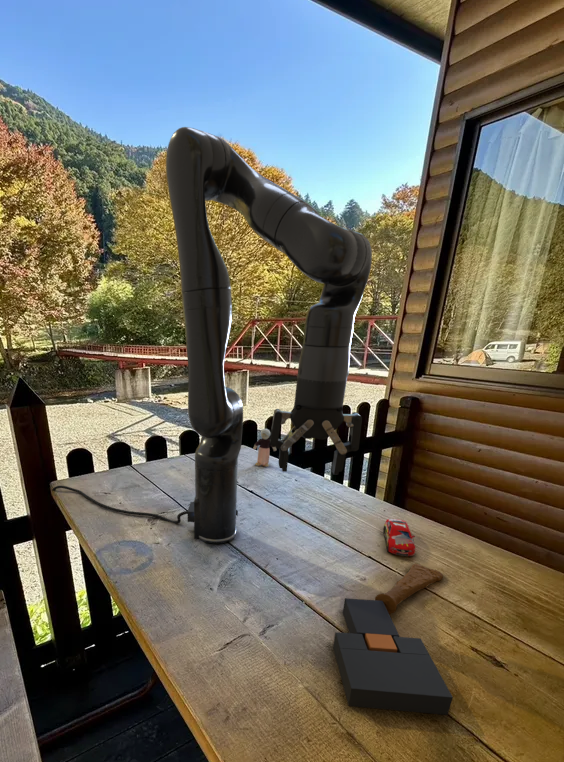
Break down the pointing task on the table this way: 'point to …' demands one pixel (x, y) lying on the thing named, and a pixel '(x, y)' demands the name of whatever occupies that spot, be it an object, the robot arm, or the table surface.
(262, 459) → the grandmother figurine
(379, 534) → the table surface
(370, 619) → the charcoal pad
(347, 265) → the robot arm
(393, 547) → the race car
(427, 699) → the black pad
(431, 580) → the primitive tool
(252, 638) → the table surface
